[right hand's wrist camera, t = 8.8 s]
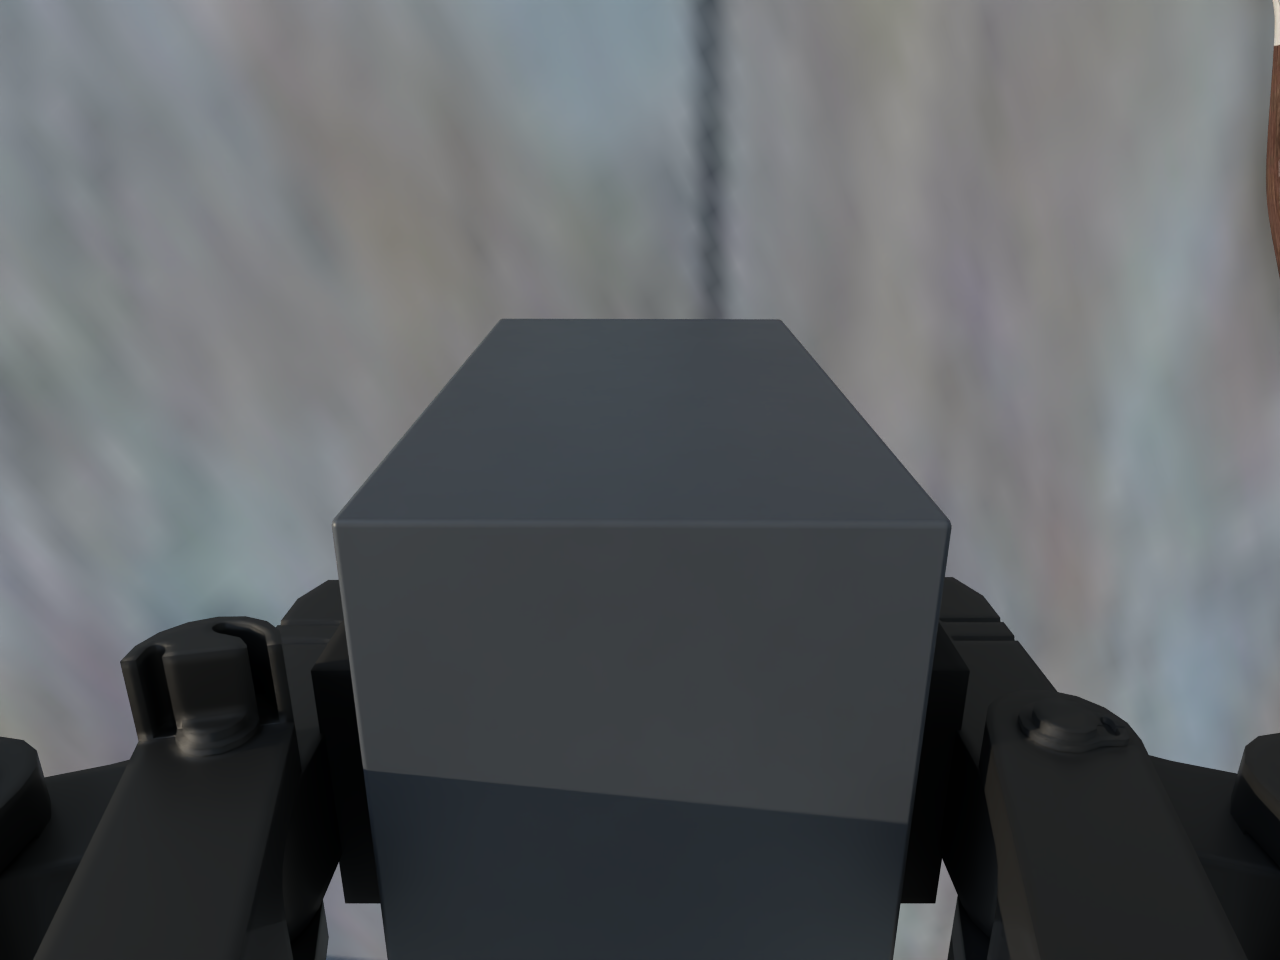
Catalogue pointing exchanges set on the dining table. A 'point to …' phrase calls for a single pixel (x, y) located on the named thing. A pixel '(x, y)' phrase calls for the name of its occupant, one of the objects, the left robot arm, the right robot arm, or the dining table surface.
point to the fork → (1274, 142)
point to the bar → (641, 652)
